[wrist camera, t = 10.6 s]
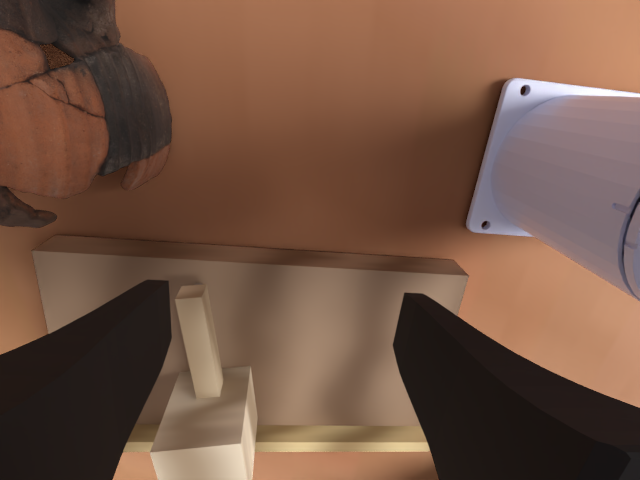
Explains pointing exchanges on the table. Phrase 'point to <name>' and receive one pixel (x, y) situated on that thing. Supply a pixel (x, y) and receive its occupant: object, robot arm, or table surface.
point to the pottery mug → (73, 105)
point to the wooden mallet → (206, 406)
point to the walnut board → (271, 331)
